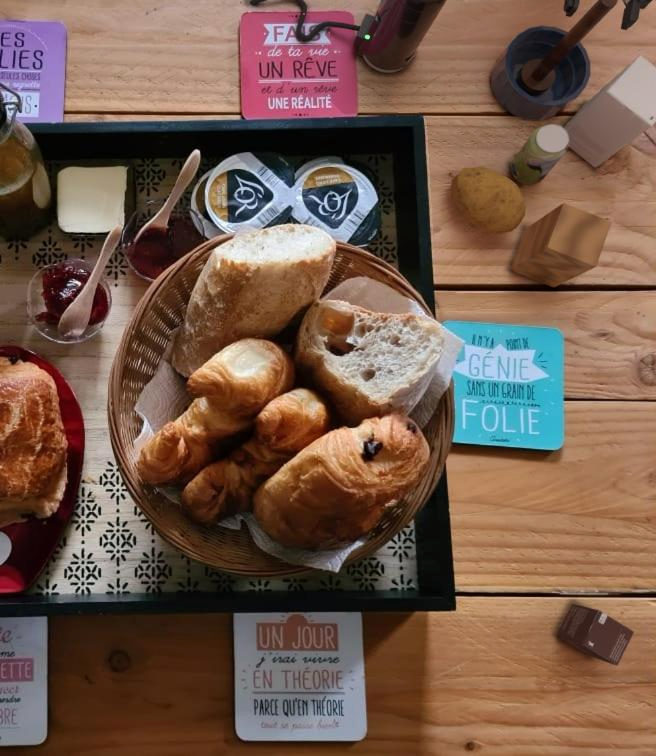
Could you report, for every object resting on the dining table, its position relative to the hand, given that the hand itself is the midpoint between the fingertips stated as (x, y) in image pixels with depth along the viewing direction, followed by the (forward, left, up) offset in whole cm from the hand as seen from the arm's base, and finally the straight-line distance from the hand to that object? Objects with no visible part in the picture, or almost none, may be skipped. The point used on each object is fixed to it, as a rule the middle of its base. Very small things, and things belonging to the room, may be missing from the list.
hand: (599, 20), depth 110 cm
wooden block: (+12, -28, -21) cm, 37 cm away
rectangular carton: (+13, -3, -21) cm, 25 cm away
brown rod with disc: (0, +2, -20) cm, 20 cm away
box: (+38, -84, -21) cm, 95 cm away
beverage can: (+4, -14, -21) cm, 26 cm away
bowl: (0, +2, -21) cm, 21 cm away
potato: (-1, -24, -21) cm, 32 cm away
